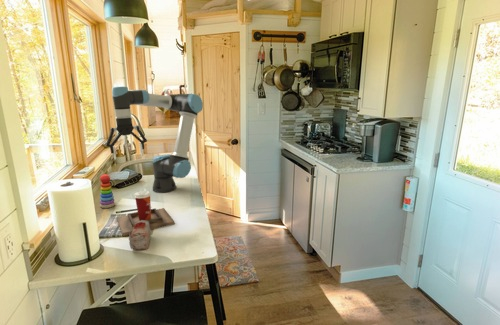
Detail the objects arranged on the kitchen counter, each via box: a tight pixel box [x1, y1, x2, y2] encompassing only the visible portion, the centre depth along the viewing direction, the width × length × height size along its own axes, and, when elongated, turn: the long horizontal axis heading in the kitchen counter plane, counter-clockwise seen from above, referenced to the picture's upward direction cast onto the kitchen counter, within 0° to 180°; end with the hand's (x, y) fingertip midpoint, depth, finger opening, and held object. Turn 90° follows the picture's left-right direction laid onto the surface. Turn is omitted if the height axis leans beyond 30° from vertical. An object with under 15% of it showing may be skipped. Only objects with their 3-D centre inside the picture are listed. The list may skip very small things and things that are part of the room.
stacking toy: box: [99, 174, 116, 209], centre depth 171 cm, size 8×8×19 cm
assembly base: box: [116, 207, 176, 237], centre depth 151 cm, size 24×20×4 cm
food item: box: [128, 220, 152, 251], centre depth 129 cm, size 14×8×10 cm, turn 14°
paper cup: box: [134, 190, 152, 221], centre depth 149 cm, size 8×8×14 cm
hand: (128, 157), depth 160 cm, fingers open, 13 cm apart
